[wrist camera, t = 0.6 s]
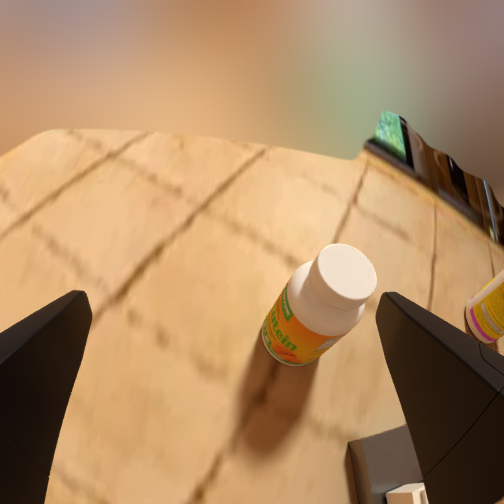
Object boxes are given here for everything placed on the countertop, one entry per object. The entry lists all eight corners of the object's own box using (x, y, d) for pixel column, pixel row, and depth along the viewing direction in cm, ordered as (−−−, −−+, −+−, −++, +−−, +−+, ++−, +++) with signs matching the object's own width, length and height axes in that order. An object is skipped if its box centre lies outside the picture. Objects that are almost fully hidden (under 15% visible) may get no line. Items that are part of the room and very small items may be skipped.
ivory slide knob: (409, 507, 15) (440, 506, 13) (389, 517, 15) (419, 519, 12) (406, 484, 17) (436, 481, 14) (385, 493, 16) (416, 492, 13)
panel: (506, 477, 19) (520, 473, 17) (367, 566, 13) (382, 570, 12) (488, 388, 26) (501, 381, 24) (348, 442, 20) (362, 438, 19)
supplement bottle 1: (248, 320, 25) (287, 245, 18) (301, 299, 28) (352, 226, 20) (281, 378, 23) (341, 326, 15) (333, 350, 25) (401, 291, 18)
